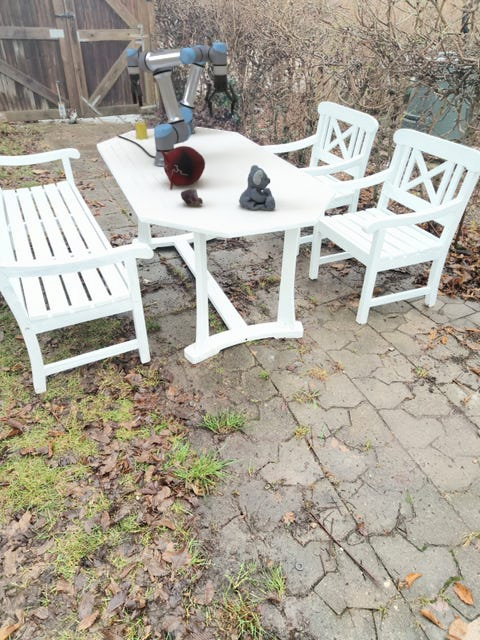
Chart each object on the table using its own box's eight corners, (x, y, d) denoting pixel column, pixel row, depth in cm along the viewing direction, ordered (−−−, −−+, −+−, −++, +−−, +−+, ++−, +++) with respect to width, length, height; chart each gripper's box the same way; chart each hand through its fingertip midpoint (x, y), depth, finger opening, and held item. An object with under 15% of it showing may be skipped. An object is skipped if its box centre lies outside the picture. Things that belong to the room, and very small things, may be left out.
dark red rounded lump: (162, 151, 264) (156, 150, 240) (201, 143, 263) (199, 140, 240) (172, 188, 271) (167, 190, 247) (209, 180, 270) (208, 181, 246)
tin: (134, 138, 355) (132, 123, 349) (142, 136, 360) (140, 121, 354) (141, 139, 350) (139, 124, 344) (149, 137, 356) (147, 123, 349)
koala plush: (276, 211, 223) (277, 171, 212) (240, 212, 222) (240, 172, 211) (271, 199, 237) (272, 161, 226) (237, 200, 236) (237, 162, 225)
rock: (196, 202, 238) (178, 205, 233) (194, 185, 234) (176, 188, 230) (205, 205, 228) (187, 208, 224) (203, 188, 224) (185, 191, 220)
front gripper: (243, 74, 255) (243, 114, 267) (202, 73, 262) (204, 112, 274) (239, 75, 249) (239, 116, 261) (197, 74, 256) (199, 114, 268)
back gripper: (124, 72, 337) (128, 103, 349) (134, 75, 319) (138, 108, 331) (133, 71, 340) (137, 102, 352) (144, 74, 322) (148, 107, 334)
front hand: (221, 114), depth 268 cm, fingers open, 13 cm apart
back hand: (138, 105), depth 342 cm, fingers open, 13 cm apart
